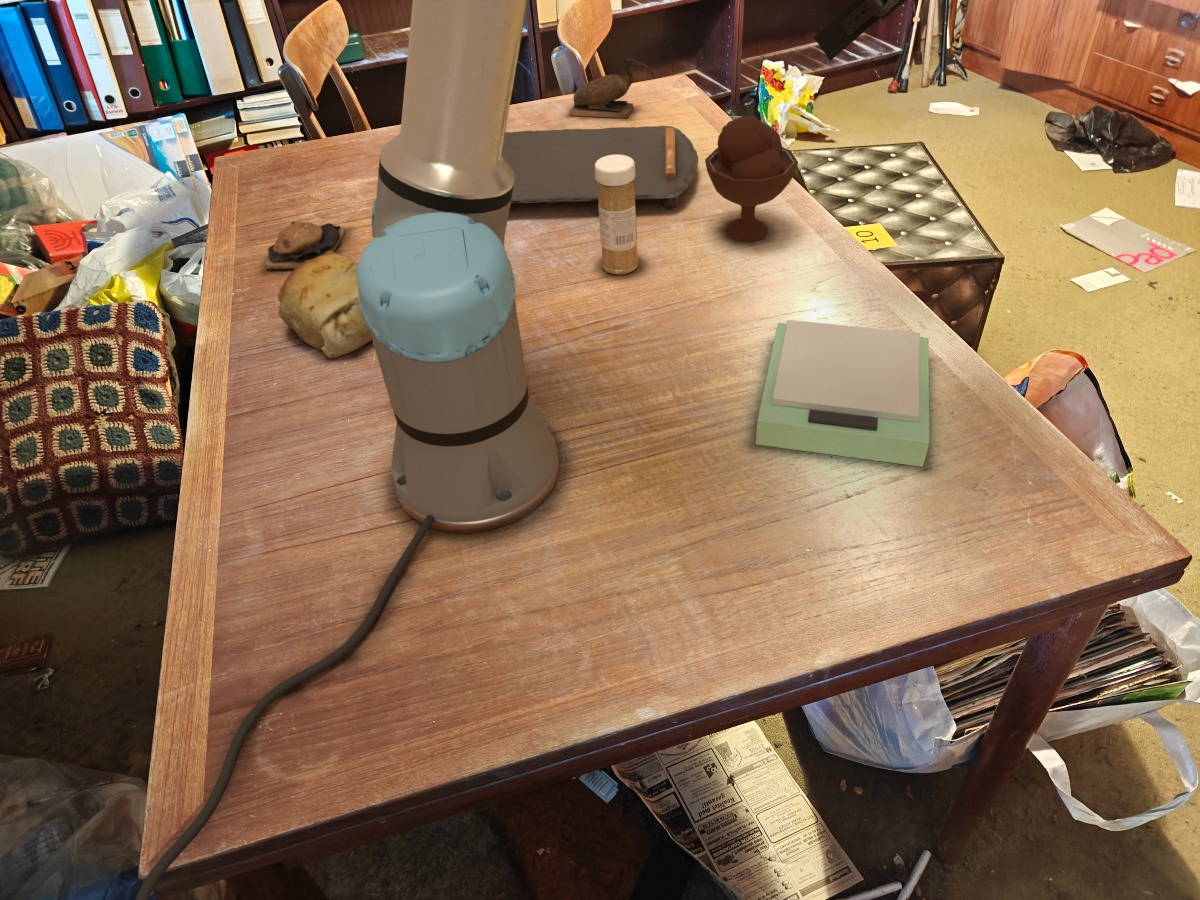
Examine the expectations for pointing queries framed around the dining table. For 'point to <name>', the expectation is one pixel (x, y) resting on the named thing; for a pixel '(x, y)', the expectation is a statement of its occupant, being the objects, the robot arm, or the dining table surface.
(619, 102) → the figurine
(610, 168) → the sprinkles bottle
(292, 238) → the open sandwich
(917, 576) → the dining table surface
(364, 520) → the dining table surface
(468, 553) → the dining table surface
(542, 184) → the serving tray
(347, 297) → the pastry
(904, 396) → the kitchen scale
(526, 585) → the dining table surface
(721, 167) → the ice cream bowl
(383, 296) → the robot arm
